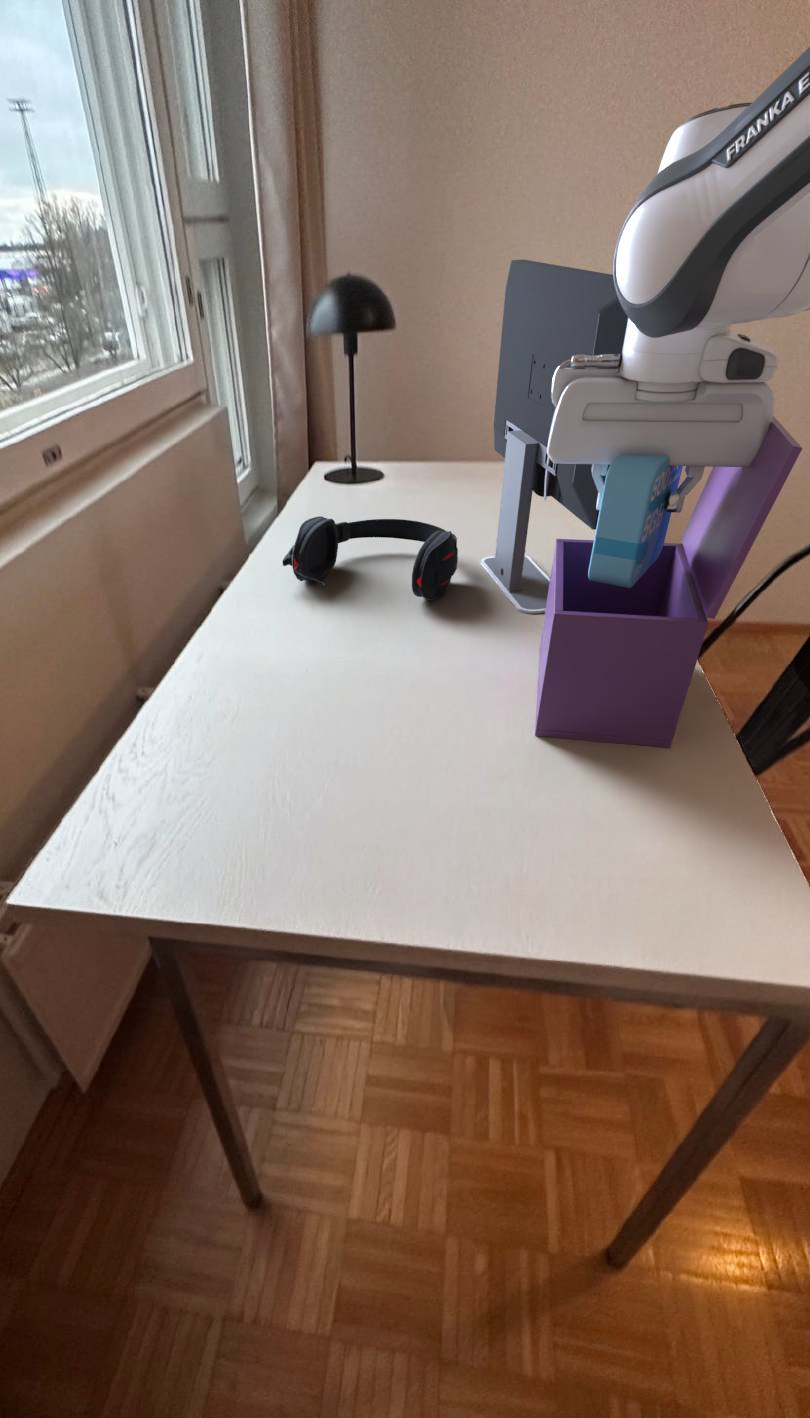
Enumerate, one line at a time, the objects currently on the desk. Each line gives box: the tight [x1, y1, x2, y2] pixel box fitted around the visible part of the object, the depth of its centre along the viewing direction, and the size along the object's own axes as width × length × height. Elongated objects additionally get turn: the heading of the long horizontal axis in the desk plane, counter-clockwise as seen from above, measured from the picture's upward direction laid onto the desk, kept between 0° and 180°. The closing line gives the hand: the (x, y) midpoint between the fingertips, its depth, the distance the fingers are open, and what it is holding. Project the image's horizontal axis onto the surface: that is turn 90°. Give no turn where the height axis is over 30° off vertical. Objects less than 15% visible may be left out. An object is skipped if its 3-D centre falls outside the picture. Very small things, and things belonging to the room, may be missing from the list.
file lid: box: [680, 415, 803, 620], centre depth 75 cm, size 16×22×1 cm
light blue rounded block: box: [588, 455, 684, 588], centre depth 77 cm, size 12×4×12 cm, turn 146°
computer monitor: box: [480, 259, 628, 615], centre depth 105 cm, size 41×8×40 cm, turn 9°
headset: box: [282, 515, 459, 601], centre depth 118 cm, size 28×26×9 cm
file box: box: [534, 538, 709, 749], centre depth 86 cm, size 15×22×15 cm
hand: (638, 509), depth 77 cm, fingers closed on light blue rounded block, 5 cm apart
